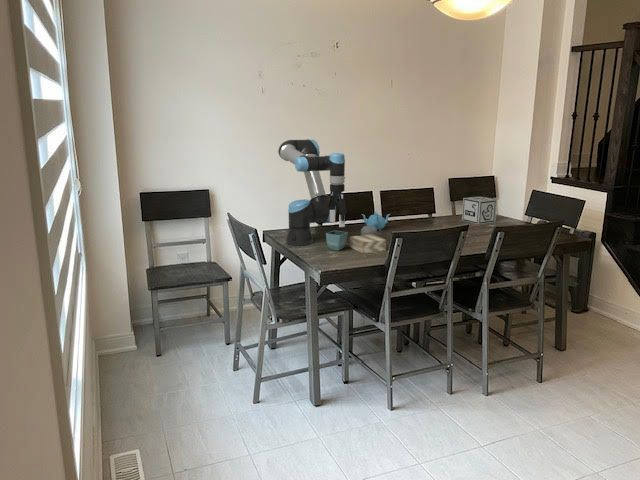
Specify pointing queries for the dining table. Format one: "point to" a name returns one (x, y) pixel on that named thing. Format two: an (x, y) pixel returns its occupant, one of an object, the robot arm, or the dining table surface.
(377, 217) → the teapot
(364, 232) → the toy rhinoceros
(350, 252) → the dining table surface
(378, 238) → the birch block
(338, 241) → the flower pot
